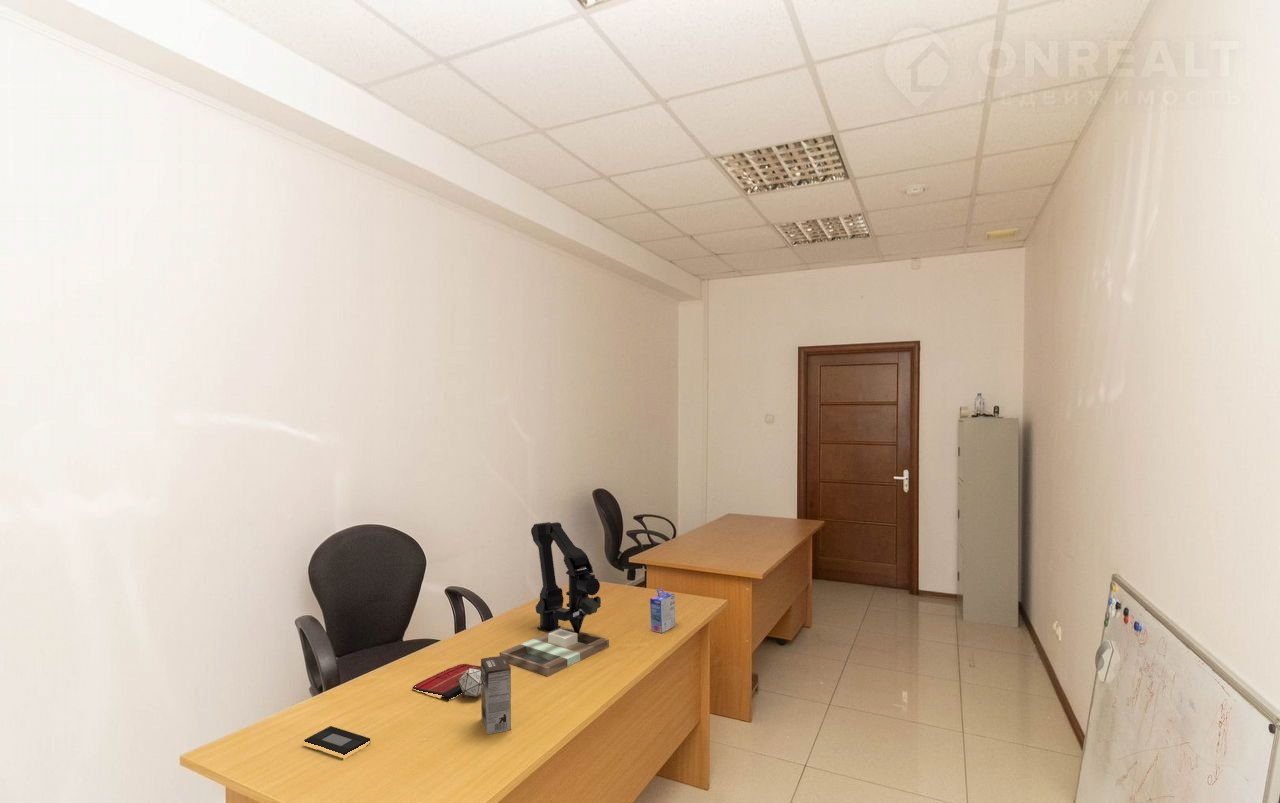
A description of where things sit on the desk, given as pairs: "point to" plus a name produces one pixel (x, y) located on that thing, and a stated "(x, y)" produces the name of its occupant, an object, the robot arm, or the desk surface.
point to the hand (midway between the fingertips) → (577, 633)
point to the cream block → (562, 638)
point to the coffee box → (496, 694)
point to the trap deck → (553, 652)
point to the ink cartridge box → (662, 611)
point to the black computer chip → (337, 740)
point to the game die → (471, 682)
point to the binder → (445, 681)
